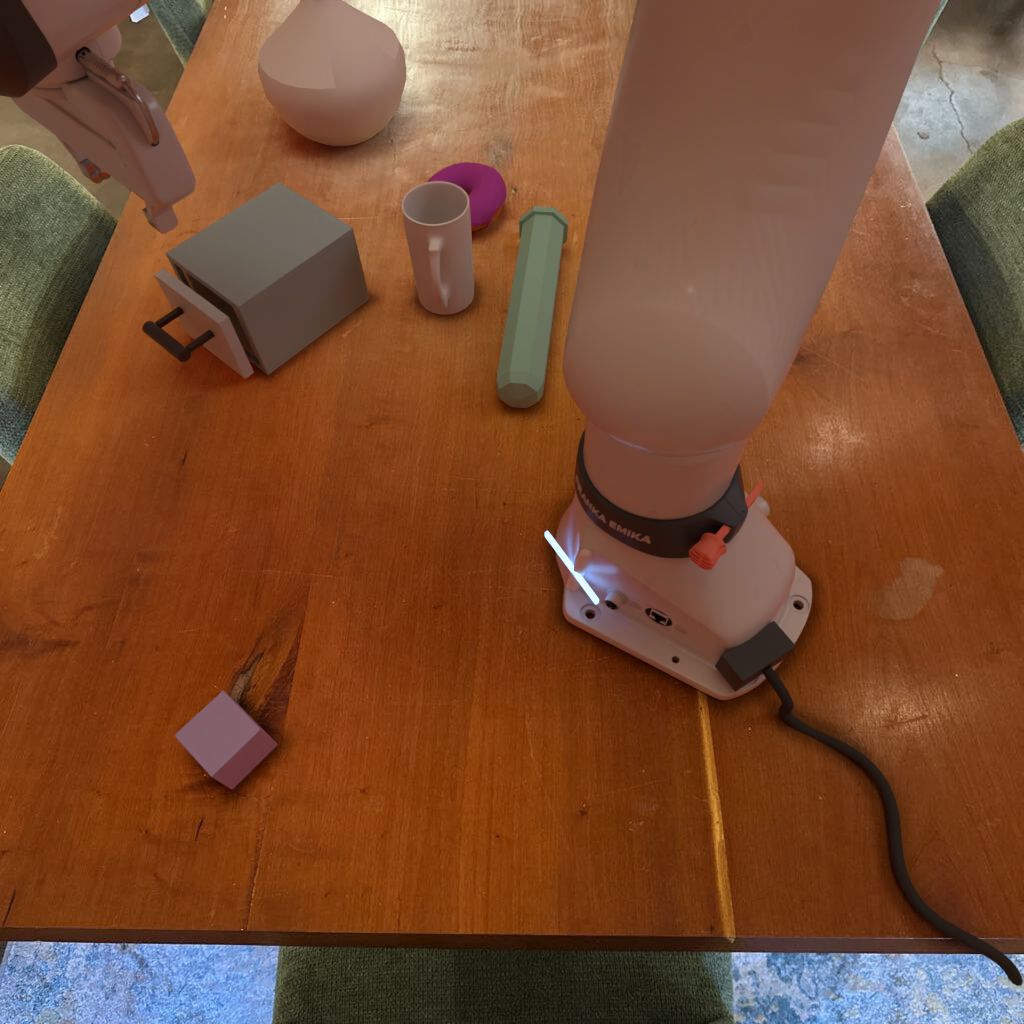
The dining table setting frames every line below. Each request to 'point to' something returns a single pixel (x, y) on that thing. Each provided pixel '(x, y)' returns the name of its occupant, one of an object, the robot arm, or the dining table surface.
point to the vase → (333, 72)
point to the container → (531, 307)
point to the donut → (477, 190)
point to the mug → (440, 245)
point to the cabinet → (278, 271)
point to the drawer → (201, 323)
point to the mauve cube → (225, 740)
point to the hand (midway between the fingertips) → (131, 201)
